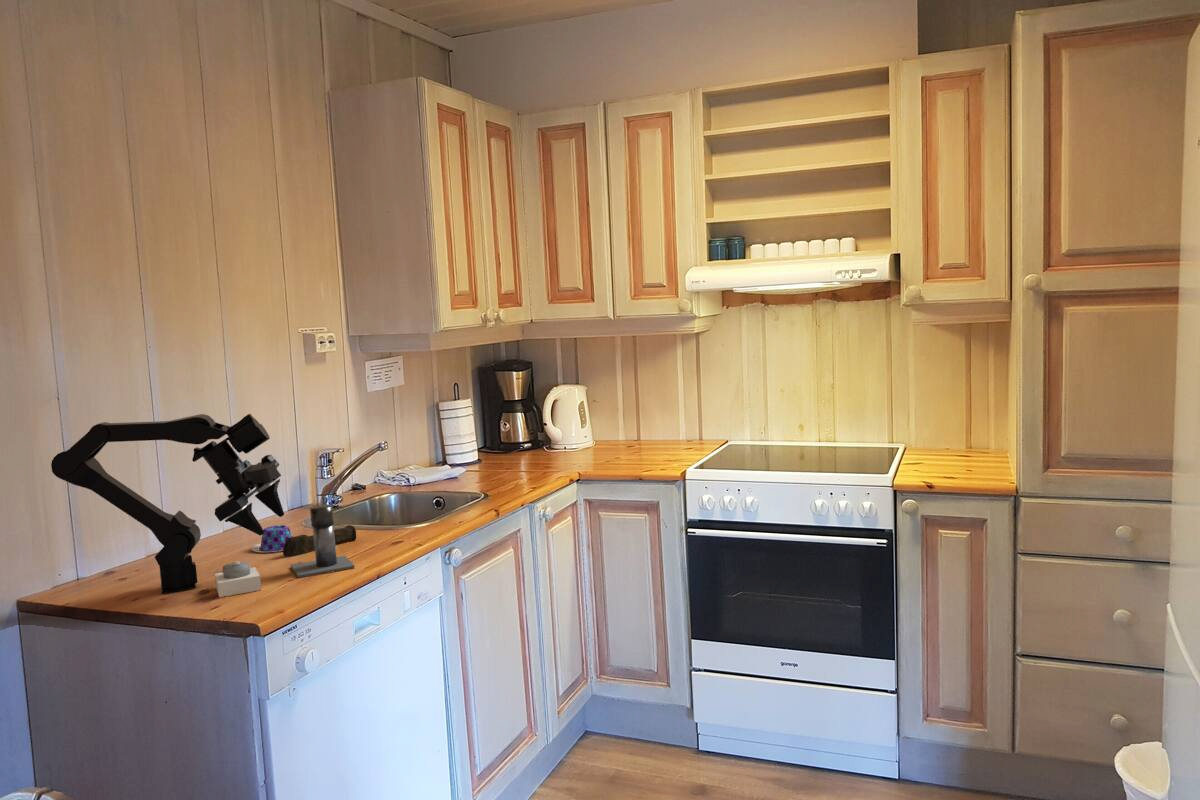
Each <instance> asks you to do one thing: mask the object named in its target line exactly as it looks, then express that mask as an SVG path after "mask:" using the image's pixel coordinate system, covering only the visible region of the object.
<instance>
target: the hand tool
mask: <svg viewBox="0 0 1200 800" xmlns="http://www.w3.org/2000/svg"><path fill="white" fill-rule="evenodd" d="M334 537H335V545H336V544H339V543H346V542H347V541H353V542H354V541H356V539H357V531H356V527H355V526H353V525H351V524H347V525H346V526H344V527H342V528H341V527H340V528H335V529H334ZM312 550H315V546H314V536H313V535H307V534H300V535H296V536H292V537H291V538H288V539H287V540H286V541H285V544H284V548H283V551H282V553H283V557H285V558H288V557H290V558H291V557H294V556H300V555H305V554H308V553H309V551H312Z"/></svg>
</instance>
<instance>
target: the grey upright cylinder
mask: <svg viewBox="0 0 1200 800" xmlns="http://www.w3.org/2000/svg"><path fill="white" fill-rule="evenodd" d="M309 514H310V524H311V527H312V534H313V536H314V546H315V549H314V555H315V561H316V566H317V567H329V566H333V565H335V564H337V557H338V556H337V549H336V548H337V547H336V544H335V537H334V530H335V529H334V524H335V519H334V507H333V505H332V504H320V505H319V504H318V505H315V506H311V507H309Z"/></svg>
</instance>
